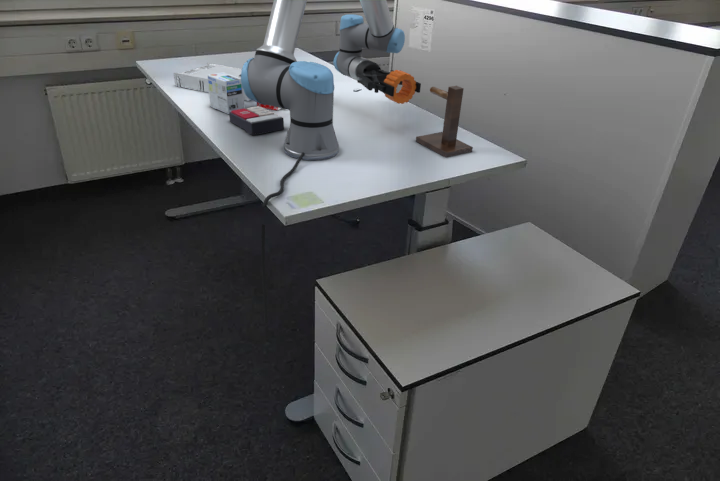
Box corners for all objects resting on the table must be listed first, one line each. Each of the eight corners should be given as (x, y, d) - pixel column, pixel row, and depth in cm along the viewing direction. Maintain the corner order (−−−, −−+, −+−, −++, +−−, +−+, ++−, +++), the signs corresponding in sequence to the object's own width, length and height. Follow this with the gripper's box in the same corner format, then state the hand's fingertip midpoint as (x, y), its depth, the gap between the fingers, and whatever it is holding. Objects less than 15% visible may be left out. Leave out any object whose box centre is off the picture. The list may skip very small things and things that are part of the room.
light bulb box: (245, 111, 185) (243, 78, 179) (228, 115, 180) (225, 81, 175) (226, 103, 191) (223, 71, 185) (209, 106, 186) (206, 74, 181)
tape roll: (390, 105, 167) (392, 75, 162) (381, 101, 170) (383, 71, 165) (414, 102, 171) (417, 72, 166) (405, 97, 174) (408, 68, 170)
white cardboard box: (208, 75, 220) (207, 62, 218) (279, 89, 208) (278, 75, 206) (175, 86, 205) (173, 72, 203) (249, 101, 194) (248, 87, 191)
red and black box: (259, 104, 179) (283, 115, 169) (260, 117, 181) (284, 129, 171) (228, 109, 173) (251, 121, 163) (229, 123, 175) (252, 135, 165)
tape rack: (472, 151, 163) (481, 90, 154) (445, 157, 158) (454, 94, 149) (438, 134, 174) (445, 76, 165) (412, 139, 169) (418, 79, 160)
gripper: (391, 79, 189) (433, 98, 173) (336, 86, 179) (375, 106, 162) (393, 57, 185) (436, 73, 169) (336, 62, 175) (376, 81, 159)
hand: (406, 89), depth 166 cm, fingers closed on tape roll, 9 cm apart
